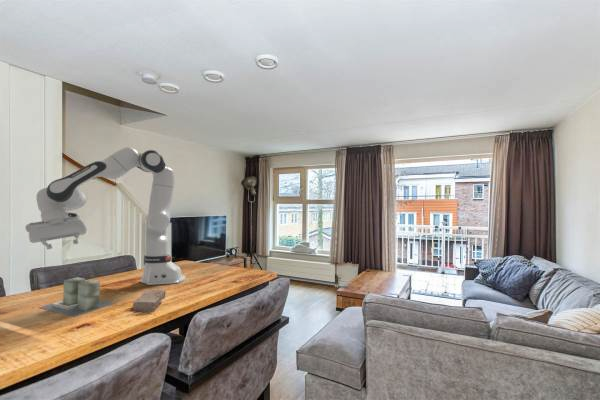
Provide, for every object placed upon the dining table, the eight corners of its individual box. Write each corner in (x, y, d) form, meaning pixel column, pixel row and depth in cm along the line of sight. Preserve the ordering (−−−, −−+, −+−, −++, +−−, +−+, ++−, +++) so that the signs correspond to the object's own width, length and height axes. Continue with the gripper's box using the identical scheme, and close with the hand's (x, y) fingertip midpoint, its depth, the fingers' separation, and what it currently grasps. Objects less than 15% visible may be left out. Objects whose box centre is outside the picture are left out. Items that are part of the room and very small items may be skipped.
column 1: (76, 301, 118) (77, 277, 118) (84, 303, 116) (85, 278, 116) (62, 305, 113) (63, 280, 113) (70, 307, 111) (71, 281, 112)
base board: (81, 298, 125) (82, 293, 125) (116, 306, 117) (116, 300, 117) (37, 310, 110) (37, 305, 110) (73, 320, 102) (73, 314, 102)
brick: (154, 312, 112) (154, 300, 112) (131, 313, 110) (131, 301, 110) (165, 299, 128) (166, 288, 128) (145, 300, 126) (146, 289, 126)
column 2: (90, 304, 115) (91, 279, 115) (98, 306, 113) (99, 281, 113) (77, 308, 110) (78, 282, 110) (85, 310, 108) (86, 284, 108)
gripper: (25, 220, 121) (33, 248, 118) (82, 213, 137) (91, 238, 134) (23, 227, 124) (31, 255, 121) (80, 219, 141) (88, 243, 137)
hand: (63, 246), depth 128 cm, fingers open, 8 cm apart
